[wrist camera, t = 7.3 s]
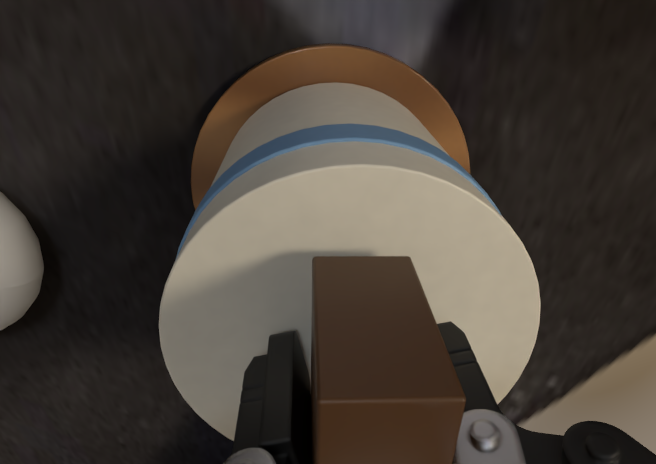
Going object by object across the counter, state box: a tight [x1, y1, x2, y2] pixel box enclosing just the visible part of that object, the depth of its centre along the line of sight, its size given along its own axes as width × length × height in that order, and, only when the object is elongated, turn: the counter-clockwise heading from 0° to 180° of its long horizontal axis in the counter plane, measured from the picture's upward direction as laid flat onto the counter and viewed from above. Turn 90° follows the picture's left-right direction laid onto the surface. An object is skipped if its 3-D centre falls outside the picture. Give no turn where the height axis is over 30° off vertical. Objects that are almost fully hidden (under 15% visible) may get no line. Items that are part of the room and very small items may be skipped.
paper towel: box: [159, 82, 540, 464], centre depth 16 cm, size 11×11×16 cm
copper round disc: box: [191, 43, 470, 211], centre depth 24 cm, size 14×14×1 cm
